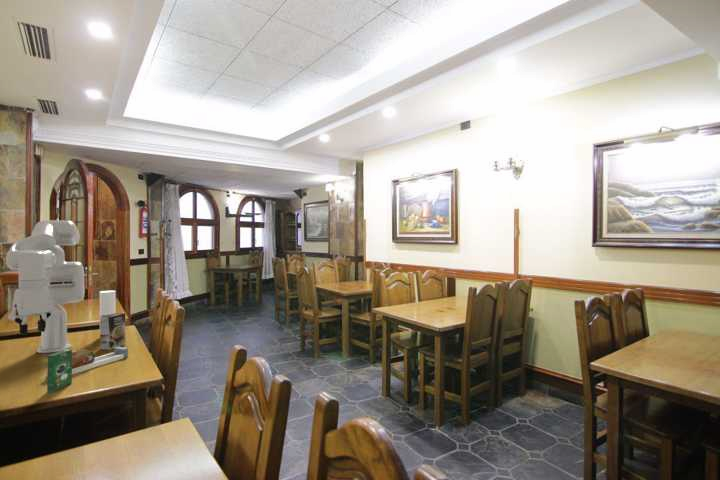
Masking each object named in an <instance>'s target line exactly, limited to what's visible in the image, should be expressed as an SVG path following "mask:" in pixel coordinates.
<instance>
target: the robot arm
mask: <svg viewBox="0 0 720 480" xmlns="http://www.w3.org/2000/svg"><path fill="white" fill-rule="evenodd" d="M80 237H81V236H80V232H79V228H78V227H77V225H76V224H75V223H74V222H73V221H71V220H56V219H55V220H54V219H51V220H49V219H47V220H46V219H45V220H40V221H38V222H37V223H36V224H35V225H34V227H33V230H32V231H31V235H29V236H27V237H24V238H22V239H20V240H18V241H15V242H14V243H13V244H11V246H10V248H9V249H8V251H7V254H6V258H5V264H6V266H7V268H9V269H10V270H12V271H18V288H16V289H15V290H14V294H13V298H12V299H13V301H12V310H11V312H9V314H8V315H7V319H9V320H11V321H14V322H15V323H17V325H19V333H20V335H22V336H27V335H28V334H29V327H28V324H27V321H28V317H29V316H35V315H38V319H39V320H38V321H37V331H38V332H41V335H40V336H41V339H40V340H41V341H40V344H41V345H40V346H41V347H38V348H37V349H36V352H37V353H39V354H53V353H57V352H60V351H63V350H65V349H70V348H71V347H72V344H71V343H68V320H67V318H68V313H67V310H66V309H65V308H64V307H63V306H62V304H73V303H74V304H75V303H80V302H82V301H83V300H84V298H85V292H86V291H85V268H84V265H83V264H82V262H80V261H65V260H66V259H65V258H66V257H65V256H66V255H65V251H64V249H63V248H62V247H61V246H76V245H77V244H79V242H80ZM58 282H59V283H58ZM60 282H61V283H60ZM62 282H72V283H62ZM49 283H55V284H49ZM56 283H57V284H56ZM47 284H48V285H47ZM17 316H18V317H17Z"/></svg>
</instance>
